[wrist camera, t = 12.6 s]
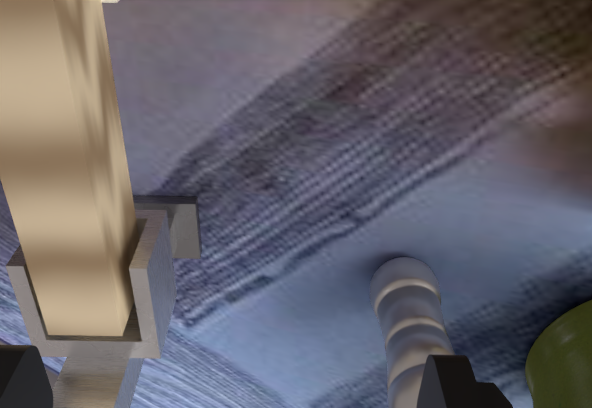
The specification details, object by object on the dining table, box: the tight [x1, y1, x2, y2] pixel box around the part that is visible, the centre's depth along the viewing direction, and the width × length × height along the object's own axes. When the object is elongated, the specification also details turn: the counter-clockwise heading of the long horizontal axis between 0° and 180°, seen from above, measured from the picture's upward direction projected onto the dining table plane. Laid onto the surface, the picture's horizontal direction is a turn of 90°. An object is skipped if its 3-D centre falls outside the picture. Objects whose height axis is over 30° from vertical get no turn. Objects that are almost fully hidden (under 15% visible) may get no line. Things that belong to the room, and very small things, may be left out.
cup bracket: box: [6, 196, 202, 408], centre depth 40 cm, size 12×8×22 cm, turn 179°
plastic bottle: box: [369, 257, 455, 408], centre depth 46 cm, size 6×7×20 cm
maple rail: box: [0, 0, 140, 336], centre depth 30 cm, size 24×4×6 cm, turn 179°
